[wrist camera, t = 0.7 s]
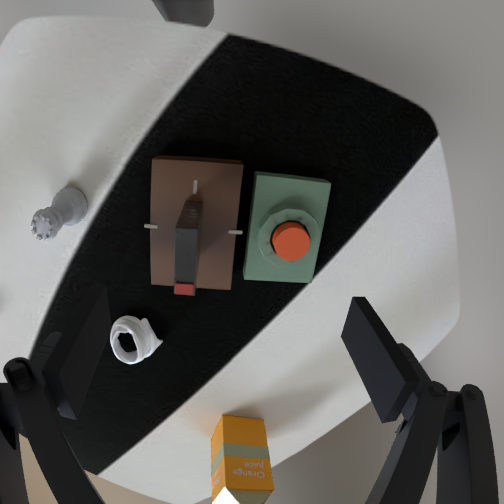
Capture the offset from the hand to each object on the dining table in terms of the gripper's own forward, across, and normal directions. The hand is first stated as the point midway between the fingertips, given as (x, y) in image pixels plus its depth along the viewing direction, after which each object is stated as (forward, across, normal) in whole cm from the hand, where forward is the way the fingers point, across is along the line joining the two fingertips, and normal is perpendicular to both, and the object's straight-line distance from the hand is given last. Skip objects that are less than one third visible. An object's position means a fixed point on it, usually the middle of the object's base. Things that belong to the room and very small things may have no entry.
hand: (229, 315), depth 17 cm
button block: (+21, +7, -2) cm, 22 cm away
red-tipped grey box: (+18, -3, -2) cm, 18 cm away
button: (+17, +7, -2) cm, 19 cm away
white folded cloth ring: (+21, -11, -19) cm, 31 cm away
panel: (+21, -3, -2) cm, 21 cm away
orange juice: (+21, +4, -41) cm, 46 cm away
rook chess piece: (+21, -18, -1) cm, 28 cm away
